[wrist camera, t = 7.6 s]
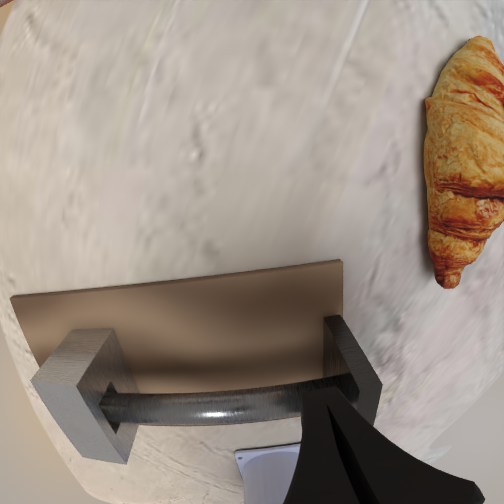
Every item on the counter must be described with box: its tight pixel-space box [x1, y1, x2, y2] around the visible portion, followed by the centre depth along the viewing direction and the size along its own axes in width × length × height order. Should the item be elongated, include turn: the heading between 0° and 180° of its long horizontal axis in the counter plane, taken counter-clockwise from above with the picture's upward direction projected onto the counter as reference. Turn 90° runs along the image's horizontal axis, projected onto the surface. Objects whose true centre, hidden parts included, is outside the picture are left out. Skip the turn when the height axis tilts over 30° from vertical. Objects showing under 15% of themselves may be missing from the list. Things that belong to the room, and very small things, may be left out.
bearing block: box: [30, 328, 140, 465], centre depth 18 cm, size 8×4×7 cm, turn 7°
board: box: [10, 259, 343, 426], centre depth 21 cm, size 14×27×1 cm, turn 97°
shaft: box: [98, 314, 383, 426], centre depth 17 cm, size 7×17×7 cm, turn 97°
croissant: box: [424, 36, 504, 289], centre depth 15 cm, size 21×10×8 cm, turn 168°
